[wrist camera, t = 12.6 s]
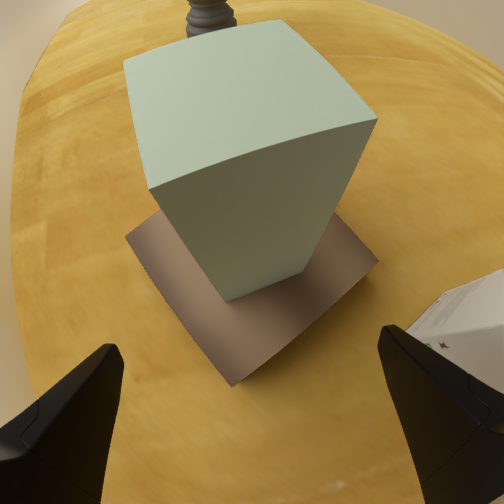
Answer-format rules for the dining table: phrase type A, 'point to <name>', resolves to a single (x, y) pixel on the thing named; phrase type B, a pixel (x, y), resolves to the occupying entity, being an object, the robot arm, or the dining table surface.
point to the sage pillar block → (246, 147)
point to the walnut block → (253, 304)
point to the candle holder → (209, 17)
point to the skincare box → (469, 328)
